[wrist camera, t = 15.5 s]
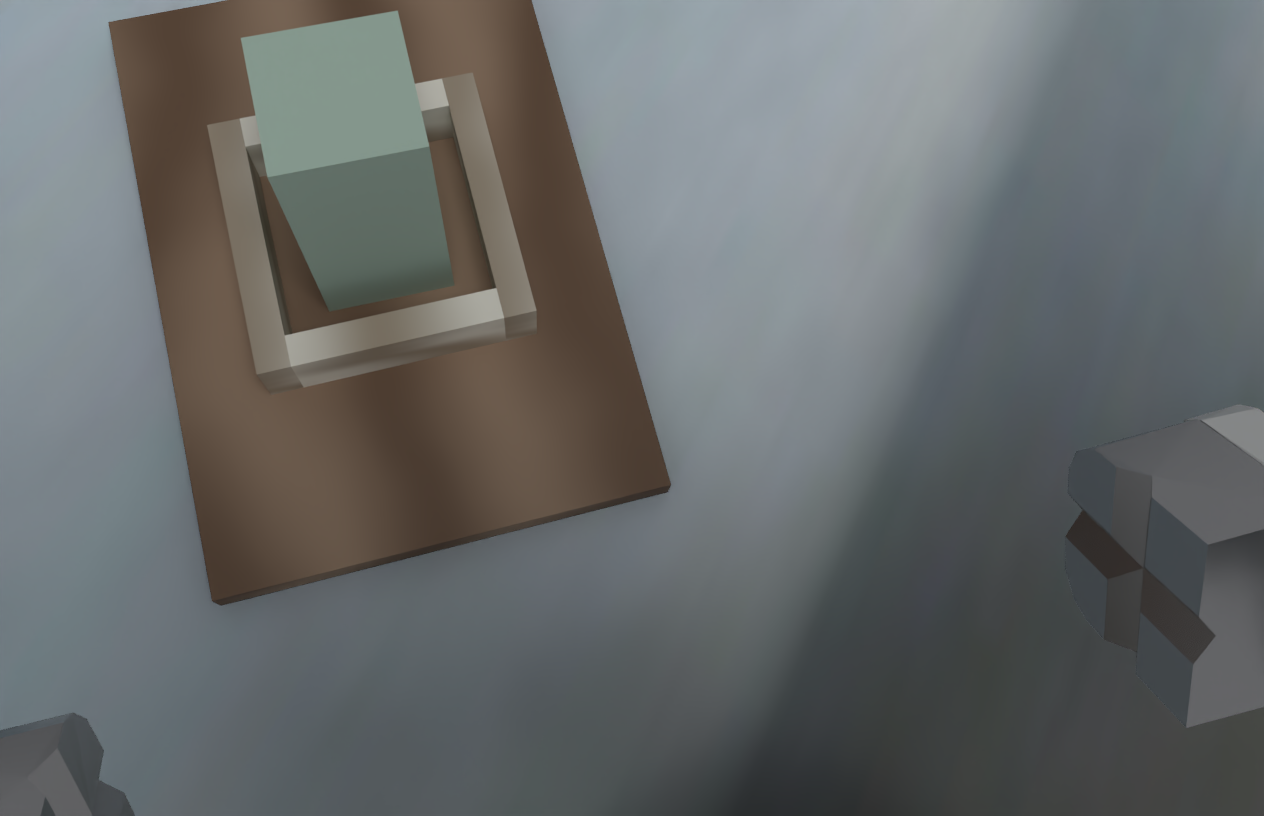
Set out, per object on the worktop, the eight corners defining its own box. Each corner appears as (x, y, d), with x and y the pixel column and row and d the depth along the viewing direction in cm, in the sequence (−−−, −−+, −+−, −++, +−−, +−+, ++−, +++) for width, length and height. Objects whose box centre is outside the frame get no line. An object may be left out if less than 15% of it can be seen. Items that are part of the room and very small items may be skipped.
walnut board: (516, -35, 44) (514, -92, 41) (667, 491, 38) (678, 469, 35) (118, 39, 42) (86, -16, 39) (221, 605, 36) (193, 591, 33)
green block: (429, 175, 40) (397, 10, 31) (454, 285, 39) (429, 146, 30) (307, 199, 39) (240, 37, 31) (329, 311, 38) (267, 177, 30)
